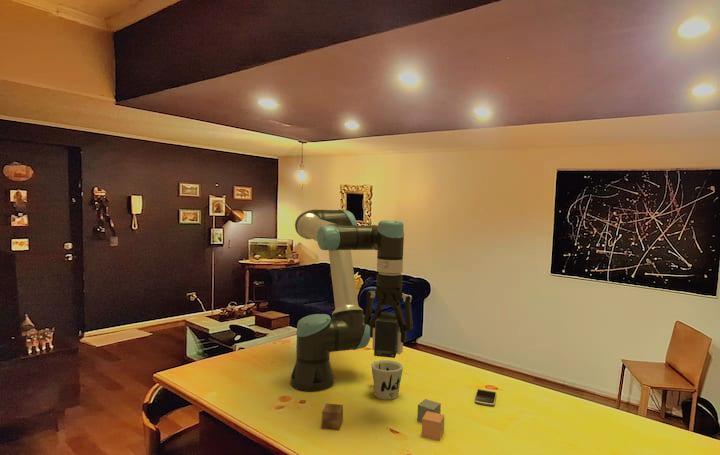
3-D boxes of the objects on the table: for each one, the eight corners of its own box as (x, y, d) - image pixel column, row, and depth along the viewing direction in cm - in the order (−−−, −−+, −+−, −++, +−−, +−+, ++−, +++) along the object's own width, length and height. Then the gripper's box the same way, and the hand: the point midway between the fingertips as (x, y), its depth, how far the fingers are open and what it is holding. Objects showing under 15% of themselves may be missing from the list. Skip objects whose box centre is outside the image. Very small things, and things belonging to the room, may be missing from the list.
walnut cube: (321, 428, 119) (322, 411, 119) (325, 420, 124) (326, 403, 124) (339, 430, 119) (339, 413, 119) (342, 421, 124) (343, 404, 123)
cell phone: (473, 405, 137) (474, 401, 137) (477, 392, 148) (477, 387, 147) (494, 408, 135) (494, 404, 135) (496, 395, 145) (496, 391, 145)
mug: (380, 404, 135) (381, 373, 135) (358, 386, 148) (359, 358, 148) (408, 398, 140) (409, 368, 140) (384, 381, 153) (385, 354, 153)
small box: (396, 358, 120) (397, 321, 120) (373, 356, 122) (374, 320, 121) (400, 347, 130) (401, 313, 130) (379, 345, 132) (380, 311, 131)
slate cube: (417, 421, 125) (417, 404, 125) (424, 415, 129) (425, 398, 129) (433, 426, 122) (433, 409, 122) (440, 420, 126) (440, 403, 126)
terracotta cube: (421, 436, 117) (422, 418, 116) (426, 428, 121) (426, 411, 121) (439, 441, 115) (440, 422, 114) (443, 432, 119) (444, 414, 119)
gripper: (353, 272, 126) (351, 349, 127) (419, 278, 117) (416, 360, 118) (363, 269, 132) (361, 342, 133) (426, 274, 124) (423, 352, 125)
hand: (387, 350), depth 126 cm, fingers closed on small box, 7 cm apart
